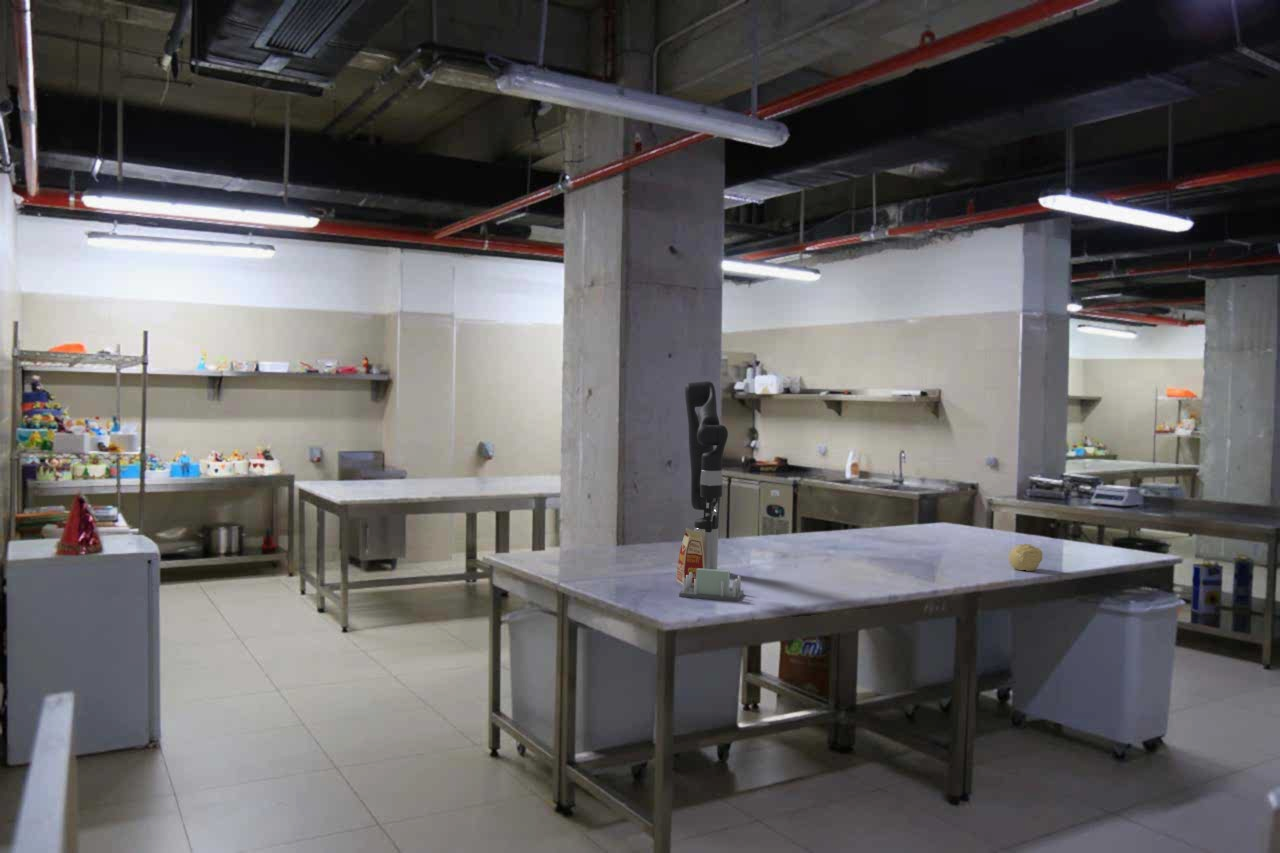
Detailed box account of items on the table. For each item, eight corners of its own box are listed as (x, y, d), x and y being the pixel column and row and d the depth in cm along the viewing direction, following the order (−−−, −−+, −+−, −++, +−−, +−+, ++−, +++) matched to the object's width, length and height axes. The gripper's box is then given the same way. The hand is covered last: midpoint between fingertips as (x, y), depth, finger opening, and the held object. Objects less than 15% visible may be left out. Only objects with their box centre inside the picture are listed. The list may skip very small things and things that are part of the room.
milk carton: (683, 585, 321) (684, 529, 321) (675, 580, 330) (676, 526, 330) (707, 584, 324) (708, 529, 324) (698, 579, 333) (700, 526, 332)
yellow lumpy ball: (1023, 573, 362) (1024, 546, 362) (1002, 567, 374) (1003, 542, 373) (1046, 572, 366) (1047, 545, 366) (1025, 566, 377) (1026, 541, 377)
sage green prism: (697, 591, 306) (697, 568, 306) (729, 594, 303) (729, 570, 303) (695, 593, 303) (695, 569, 303) (727, 595, 300) (728, 571, 300)
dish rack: (686, 589, 314) (686, 572, 314) (743, 594, 309) (743, 576, 309) (679, 596, 303) (679, 578, 303) (738, 601, 298) (738, 582, 297)
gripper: (704, 480, 315) (703, 526, 316) (696, 485, 302) (695, 532, 303) (725, 481, 314) (724, 527, 314) (718, 486, 300) (718, 534, 301)
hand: (710, 530), depth 308 cm, fingers open, 8 cm apart
